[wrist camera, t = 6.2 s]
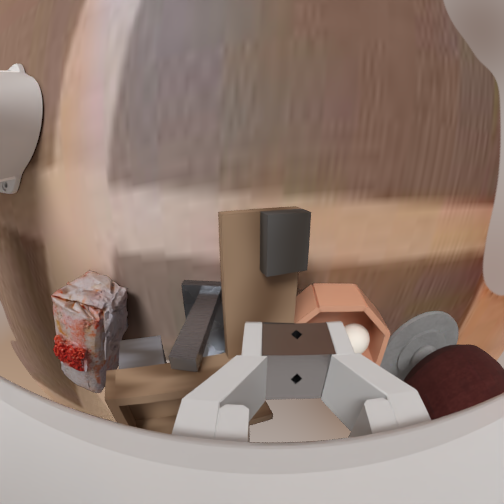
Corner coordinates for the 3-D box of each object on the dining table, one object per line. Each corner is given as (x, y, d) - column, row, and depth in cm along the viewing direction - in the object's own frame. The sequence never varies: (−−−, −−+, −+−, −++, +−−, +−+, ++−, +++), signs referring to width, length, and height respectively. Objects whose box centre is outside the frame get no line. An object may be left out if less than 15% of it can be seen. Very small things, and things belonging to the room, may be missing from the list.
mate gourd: (387, 399, 34) (421, 510, 15) (358, 343, 30) (406, 494, 12) (472, 346, 30) (533, 439, 11) (462, 278, 27) (564, 381, 8)
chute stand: (194, 359, 33) (170, 431, 22) (184, 280, 29) (141, 347, 18) (242, 362, 32) (231, 439, 21) (241, 282, 28) (223, 357, 18)
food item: (83, 257, 29) (31, 295, 20) (139, 279, 29) (94, 328, 20) (85, 340, 34) (51, 383, 25) (133, 362, 34) (103, 412, 25)
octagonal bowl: (275, 364, 32) (274, 391, 28) (279, 282, 28) (280, 305, 24) (363, 362, 31) (371, 387, 27) (383, 283, 27) (398, 304, 23)
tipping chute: (127, 383, 25) (131, 446, 18) (83, 214, 19) (51, 246, 11) (263, 359, 30) (297, 410, 23) (267, 196, 24) (321, 216, 16)
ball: (355, 340, 30) (328, 346, 29) (361, 314, 29) (333, 320, 28) (371, 358, 27) (343, 366, 26) (379, 331, 25) (350, 339, 25)
